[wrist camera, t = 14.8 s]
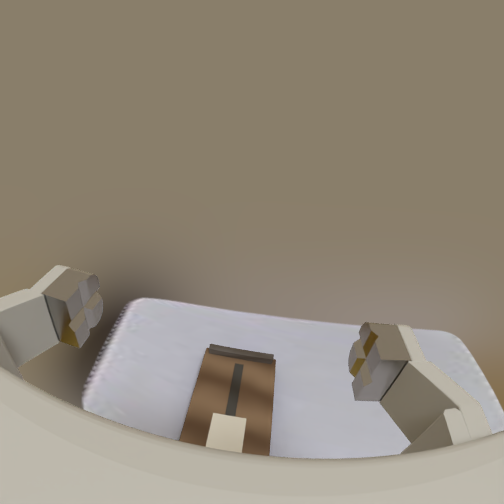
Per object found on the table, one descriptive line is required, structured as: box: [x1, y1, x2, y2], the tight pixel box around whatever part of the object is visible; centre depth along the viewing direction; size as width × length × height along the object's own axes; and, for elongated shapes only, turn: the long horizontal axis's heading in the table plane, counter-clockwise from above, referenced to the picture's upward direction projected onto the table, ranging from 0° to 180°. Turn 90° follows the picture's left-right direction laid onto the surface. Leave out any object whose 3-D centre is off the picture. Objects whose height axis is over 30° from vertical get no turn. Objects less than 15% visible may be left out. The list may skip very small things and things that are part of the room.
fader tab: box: [206, 413, 246, 453], centre depth 20 cm, size 6×6×12 cm
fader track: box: [179, 344, 276, 456], centre depth 28 cm, size 28×10×3 cm, turn 174°
